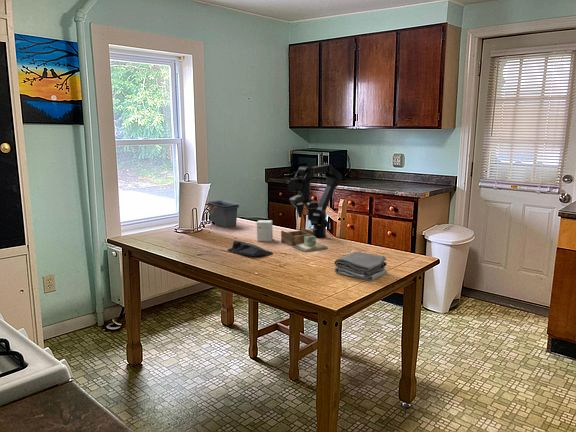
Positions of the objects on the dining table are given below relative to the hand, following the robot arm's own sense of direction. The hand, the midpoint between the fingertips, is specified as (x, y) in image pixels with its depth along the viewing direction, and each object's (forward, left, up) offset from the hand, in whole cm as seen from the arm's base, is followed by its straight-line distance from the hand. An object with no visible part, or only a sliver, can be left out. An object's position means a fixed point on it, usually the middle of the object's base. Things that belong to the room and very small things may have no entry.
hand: (304, 218), depth 249 cm
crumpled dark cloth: (+36, +6, -13) cm, 38 cm away
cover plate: (+6, +14, -11) cm, 19 cm away
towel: (+10, +60, -12) cm, 63 cm away
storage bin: (+23, -60, -12) cm, 65 cm away
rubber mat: (+6, +14, -12) cm, 20 cm away
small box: (+18, -12, -12) cm, 25 cm away
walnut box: (+6, +2, -12) cm, 14 cm away
